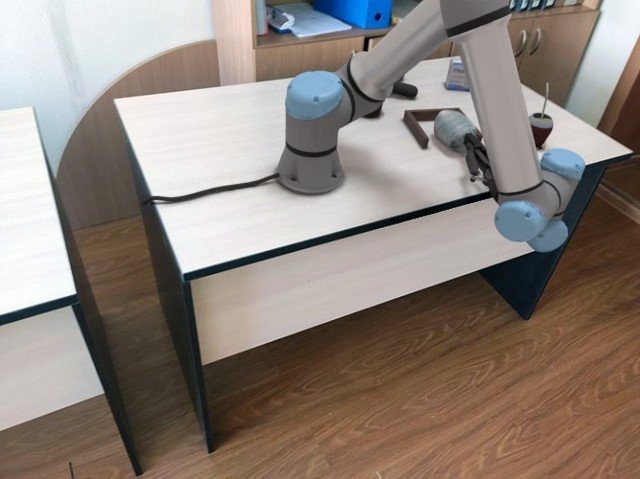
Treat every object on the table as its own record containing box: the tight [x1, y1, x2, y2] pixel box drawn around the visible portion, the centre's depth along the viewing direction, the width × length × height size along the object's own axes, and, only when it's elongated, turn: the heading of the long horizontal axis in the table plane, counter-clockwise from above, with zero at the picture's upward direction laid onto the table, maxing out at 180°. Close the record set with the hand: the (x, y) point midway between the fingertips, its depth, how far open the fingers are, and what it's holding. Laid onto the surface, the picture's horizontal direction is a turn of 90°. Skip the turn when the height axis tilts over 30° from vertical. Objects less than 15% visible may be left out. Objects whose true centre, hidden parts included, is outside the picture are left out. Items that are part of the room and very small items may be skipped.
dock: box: [402, 107, 483, 150], centre depth 139 cm, size 16×16×3 cm
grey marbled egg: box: [433, 110, 477, 155], centre depth 132 cm, size 14×10×10 cm
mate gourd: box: [528, 82, 555, 150], centre depth 133 cm, size 8×8×15 cm
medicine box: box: [444, 57, 470, 92], centre depth 159 cm, size 8×4×9 cm, turn 88°
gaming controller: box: [392, 74, 419, 99], centre depth 157 cm, size 17×6×10 cm
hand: (467, 137), depth 126 cm, fingers closed
